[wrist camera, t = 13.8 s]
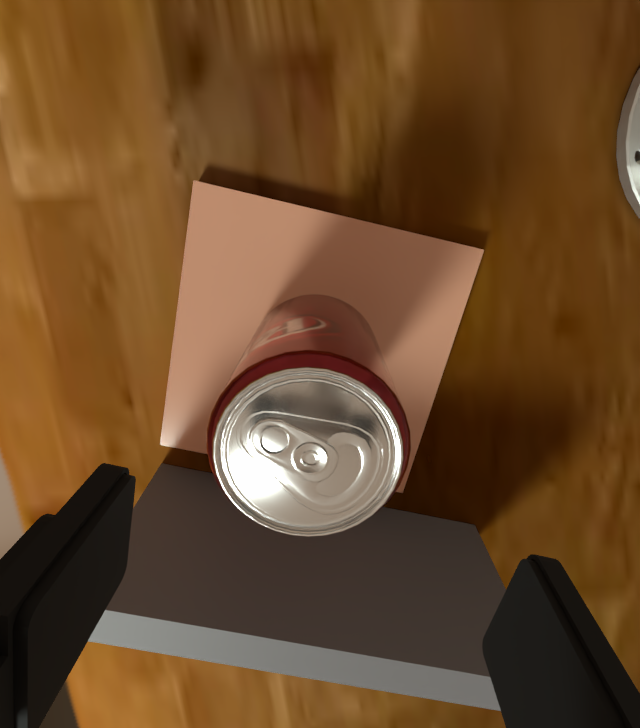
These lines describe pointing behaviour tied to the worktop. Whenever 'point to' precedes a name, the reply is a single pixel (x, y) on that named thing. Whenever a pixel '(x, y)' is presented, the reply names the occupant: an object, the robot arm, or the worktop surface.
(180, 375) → the tile
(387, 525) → the screen
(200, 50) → the worktop surface
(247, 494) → the soda can
